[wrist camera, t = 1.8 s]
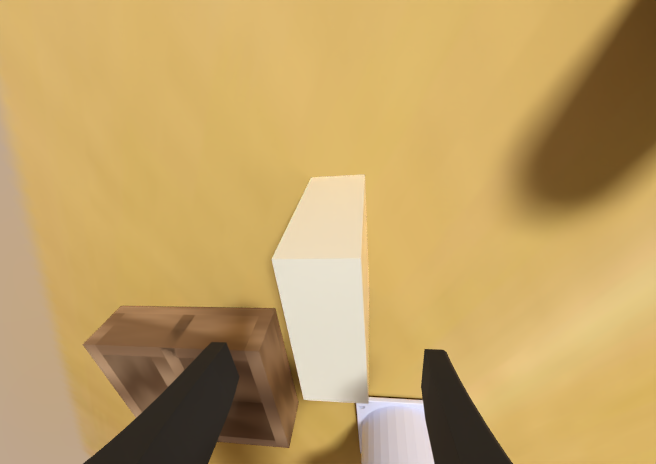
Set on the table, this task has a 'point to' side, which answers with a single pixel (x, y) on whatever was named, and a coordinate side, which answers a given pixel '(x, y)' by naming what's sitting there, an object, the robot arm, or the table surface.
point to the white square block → (328, 289)
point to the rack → (185, 345)
